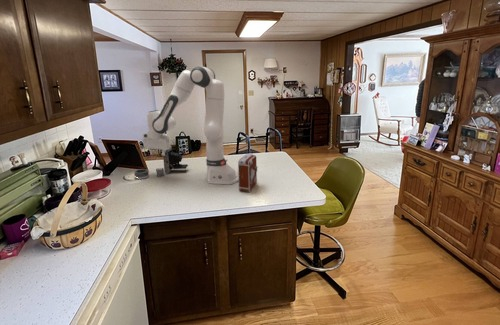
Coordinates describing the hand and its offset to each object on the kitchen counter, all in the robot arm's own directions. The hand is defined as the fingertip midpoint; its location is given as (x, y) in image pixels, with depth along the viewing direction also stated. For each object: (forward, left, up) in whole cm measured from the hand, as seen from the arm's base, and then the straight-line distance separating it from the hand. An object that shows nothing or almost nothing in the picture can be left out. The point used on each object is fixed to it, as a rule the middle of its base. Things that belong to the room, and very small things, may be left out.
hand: (157, 154), depth 195 cm
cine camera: (-67, -3, -15) cm, 68 cm away
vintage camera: (-5, -12, -15) cm, 20 cm away
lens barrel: (+10, +7, -15) cm, 19 cm away
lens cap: (0, 0, -15) cm, 15 cm away
